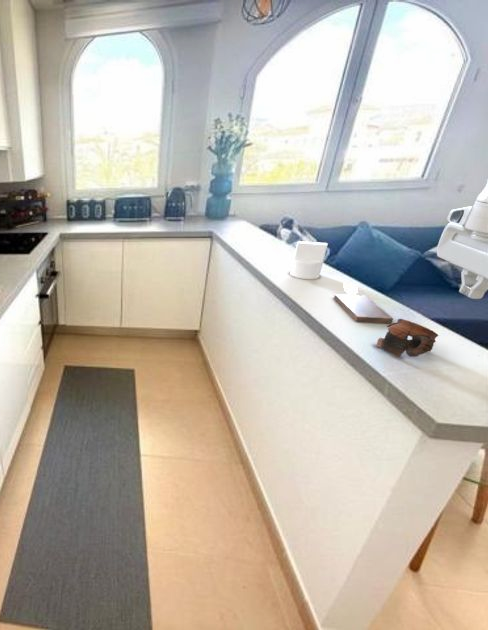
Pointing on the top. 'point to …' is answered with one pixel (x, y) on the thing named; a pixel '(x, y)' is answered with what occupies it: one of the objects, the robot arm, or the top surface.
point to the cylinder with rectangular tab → (308, 259)
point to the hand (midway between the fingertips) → (469, 295)
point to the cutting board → (362, 309)
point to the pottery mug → (399, 343)
